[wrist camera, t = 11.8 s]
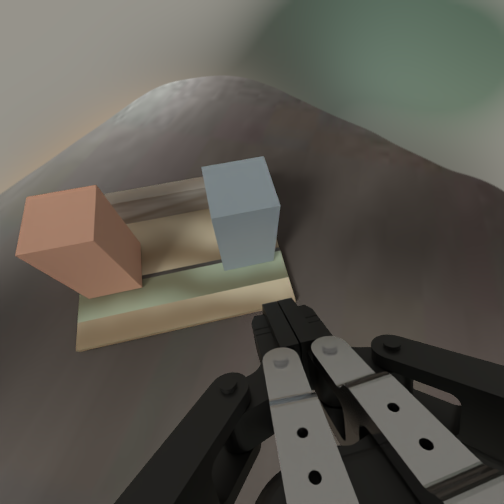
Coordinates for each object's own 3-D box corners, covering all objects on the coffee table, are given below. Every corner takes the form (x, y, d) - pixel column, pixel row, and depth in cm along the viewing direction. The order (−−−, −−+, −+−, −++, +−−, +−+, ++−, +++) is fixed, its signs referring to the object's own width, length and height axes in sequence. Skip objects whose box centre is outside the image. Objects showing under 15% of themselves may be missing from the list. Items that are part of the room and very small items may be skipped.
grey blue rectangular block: (273, 260, 28) (280, 205, 20) (224, 271, 27) (211, 218, 19) (261, 220, 30) (263, 156, 22) (216, 229, 29) (201, 167, 21)
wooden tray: (295, 303, 26) (301, 288, 23) (79, 352, 25) (49, 344, 21) (260, 191, 33) (261, 166, 29) (87, 223, 31) (65, 200, 27)
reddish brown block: (142, 287, 26) (93, 240, 19) (88, 298, 26) (15, 255, 18) (140, 243, 29) (96, 184, 21) (91, 253, 28) (26, 196, 20)
